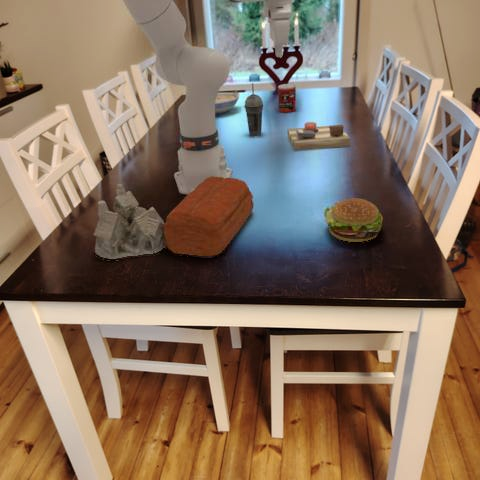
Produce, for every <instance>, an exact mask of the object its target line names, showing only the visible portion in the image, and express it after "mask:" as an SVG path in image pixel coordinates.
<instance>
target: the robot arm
mask: <svg viewBox="0 0 480 480" xmlns="http://www.w3.org/2000/svg"><path fill="white" fill-rule="evenodd" d="M122 1H123V4H124V5H125V7H126V8H127V10H128V13H129V14H130V15H131V17H132V18H133V19H134V22H135V23H136V24H137V25H138V27H139V29H140V30H141V31H142V33H143V34H144V36H145V37H146V38H147V41H149V42H150V45H151V46H152V49H153V50H154V53H155V60H154V61H155V63H154V66H155V70H156V73H157V75H158V76H159V77H160V78H161V79H162V80H164V81H166V82H168V83H171V84H172V85H177V86H185V90H186V92H185V98H184V101H182V103H180V104H179V106H178V109H177V115H178V121H179V128H180V129H179V130H180V131H179V132H180V133H179V142H180V148H179V149H178V150H177V156H178V157H177V158H178V166H177V169H178V171H177V172H175V173H174V175H173V176H174V177H173V178H174V179H175V182H176V186H177V189H178V192H179V193H180V194H183V195H188V194H189V193H190V192H192V191H193V190H194V189H195V188H196V187H197V186H198V185H199V184H200V183H202V182H203V181H204V180H205V179H206V178H209V177H211V176H214V177H223V178H224V179H225V178H232V177H231V176H232V173H233V169H232V168H231V167H227V162H226V154H225V148H224V147H223V146H222V145H221V144H220V141H219V139H220V138H219V136H220V135H219V133H218V132H219V131H218V129H217V125H216V123H217V122H216V114H215V101H216V97H217V93H218V91H219V90H221V88H222V86H223V85H224V84H226V82H227V80H228V78H229V74H230V64H229V60H228V57H227V56H226V55H225V54H224V53H223V52H221V51H220V50H216V49H214V48H212V47H211V48H210V47H204V46H194V45H191V44H190V43H189V42H188V41H187V39H186V37H185V33H186V30H187V22H186V19H185V17H184V15H183V14H182V13H181V11H180V9H179V8H178V5H177V4H176V3H175V1H174V0H122ZM228 1H229V2H230V3H233V4H236V3H244V2H248V3H249V2H263V17H264V18H266V19H267V21H268V23H269V38H270V39H271V41H272V42H273V45H274V50H275V51H274V52H275V54H274V55H275V57H277V58H282V56H283V46H287V45H289V37H290V19H292V15H293V14H292V12H293V11H292V10H293V6H292V5H293V4H292V1H293V0H228Z"/></svg>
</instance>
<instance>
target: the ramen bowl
mask: <svg viewBox="0 0 480 480" xmlns="http://www.w3.org/2000/svg"><path fill="white" fill-rule="evenodd" d="M245 92H246V89H239V90H238V89H237V90H235V89H233V90H223V89H222V90H221V89H219V91H218V93H217V97H216V101H215V115H221V114H224V113H225V112H227V111H229V110H230V109H232V108H233V107H234V106H235V105H236V104H237V103H238V100H239V97H240V95H241V93H245Z"/></svg>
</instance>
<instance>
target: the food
mask: <svg viewBox="0 0 480 480" xmlns="http://www.w3.org/2000/svg"><path fill="white" fill-rule="evenodd" d="M323 214H324V217H325V223H326V224H327V226H328V227H329V229H328V230H329V233H330V234H331V236H332V237H333V236H334V237H333V238H335V237H336V238H335V239H337V238H338V239H337V240H339V239H340V240H339V241H341V240H343V241H342V242H345V241H348V242H347V243H350V242H362V243H364V242H363V241H367V242H369V241H368V240H370V241H371V239H372V240H373V238H374V239H375V238H376V237H377V236H378V235H379V233H380V232H381V231H382V226H383V225H382V223H383V215H382V213H381V212H380V210H379V209H378V207H377V206H376V205H375V204H374V203H372V202H371V201H370V200H369V201H368V200H366V199H363V198H357V197H354V198H352V197H351V198H346V199H342V200H340V201H338V202H336V203H334V204H333V205H332V206H331V207H330V208H329V206H327V208H325V209H324V213H323Z"/></svg>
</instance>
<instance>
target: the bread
mask: <svg viewBox="0 0 480 480" xmlns="http://www.w3.org/2000/svg"><path fill="white" fill-rule="evenodd" d="M253 199H254V195H253V194H252V191H250V187H249V186H248V184H247V183H246V182H245V181H244V180H241V179H239V178H237V177H236V178H235V177H230V178H225V179H224V178H223V177H214V176H211V177H209V178H206V179H205V180H204V181H203V182H202V183H200V184H199V185H198V186H197V187H196V188H195V189H194V190H193V191H192V192H190V193H189V194H186V196H185V197H184V198H183V199H182V200H181V201H180V202H179V203H178V204H177V205H176V206H175V207H174V208H173V209H172V210H171V211H170V212H169V214H167V216H166V219H165V220H166V221H165V222H164V224H165V225H164V234H165V243H166V246H167V248H168V250H169V251H170V250H171V251H172V252H174V253H178V254H180V253H181V254H189V255H198V256H213V255H218V254H220V253H221V252H222V251H223V250H224V249H225V248H226V247H228V246H229V245H230V243H231V242H232V241H231V240H233V239H234V238H235V236H236V235H237V233H239V231H240V229H241V228H242V227H243V225H244V224H245V223H246V221H247V220H248V218H249V217H250V215H251V214H252V212H253V209H254V201H253ZM248 216H249V217H248ZM246 219H247V220H246ZM244 222H245V223H244ZM233 237H234V238H233ZM230 241H231V242H230ZM228 244H229V245H228ZM227 245H228V246H227ZM226 249H227V248H226ZM226 249H225V250H226ZM225 250H224V251H225ZM172 252H171V253H172ZM174 253H173V254H174ZM222 253H223V252H222ZM222 253H221V254H222ZM221 254H220V255H221ZM218 256H219V255H218Z"/></svg>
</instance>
